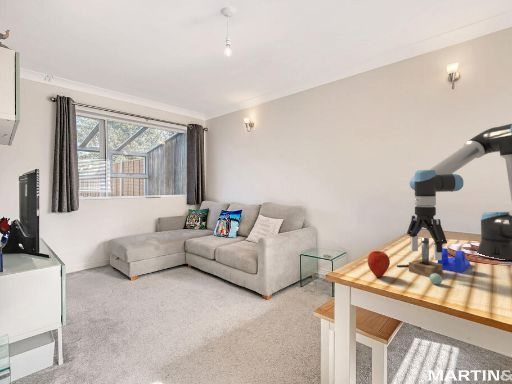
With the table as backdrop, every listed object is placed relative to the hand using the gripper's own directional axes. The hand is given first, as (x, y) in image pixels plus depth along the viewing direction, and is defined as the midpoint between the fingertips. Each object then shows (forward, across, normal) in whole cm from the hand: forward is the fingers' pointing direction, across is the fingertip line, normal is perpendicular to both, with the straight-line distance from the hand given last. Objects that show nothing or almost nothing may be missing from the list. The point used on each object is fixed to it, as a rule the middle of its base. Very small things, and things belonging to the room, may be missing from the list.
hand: (425, 255), depth 109 cm
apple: (+8, +2, -22) cm, 23 cm away
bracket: (+8, -6, +18) cm, 21 cm away
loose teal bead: (+8, +12, -5) cm, 15 cm away
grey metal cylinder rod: (+8, 0, 0) cm, 8 cm away
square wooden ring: (+8, 0, 0) cm, 8 cm away
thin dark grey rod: (+8, -8, 0) cm, 11 cm away
